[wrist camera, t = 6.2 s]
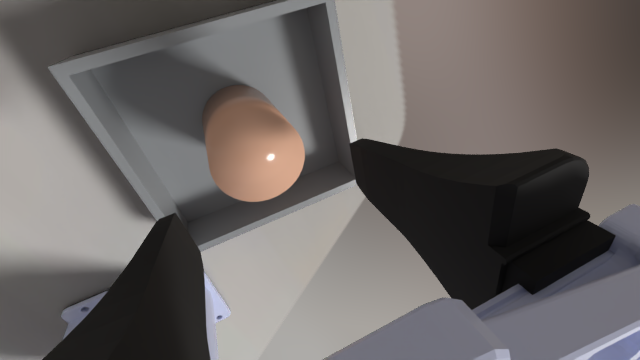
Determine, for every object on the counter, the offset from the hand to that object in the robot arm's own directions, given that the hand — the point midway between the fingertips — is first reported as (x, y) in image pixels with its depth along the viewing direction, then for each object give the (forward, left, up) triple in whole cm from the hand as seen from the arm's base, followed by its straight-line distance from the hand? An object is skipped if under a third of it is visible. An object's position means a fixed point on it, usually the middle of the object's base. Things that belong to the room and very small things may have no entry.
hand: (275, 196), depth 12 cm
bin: (0, 0, -10) cm, 10 cm away
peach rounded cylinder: (0, 0, -9) cm, 9 cm away
